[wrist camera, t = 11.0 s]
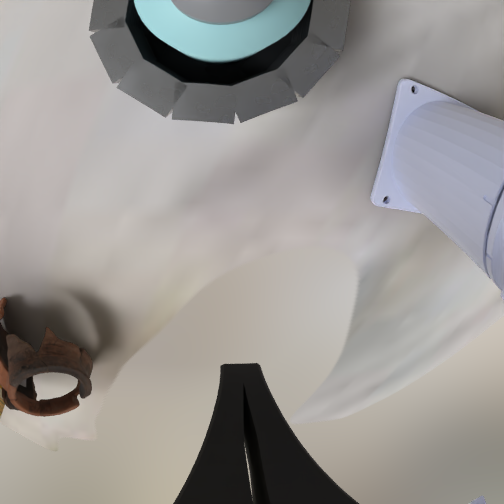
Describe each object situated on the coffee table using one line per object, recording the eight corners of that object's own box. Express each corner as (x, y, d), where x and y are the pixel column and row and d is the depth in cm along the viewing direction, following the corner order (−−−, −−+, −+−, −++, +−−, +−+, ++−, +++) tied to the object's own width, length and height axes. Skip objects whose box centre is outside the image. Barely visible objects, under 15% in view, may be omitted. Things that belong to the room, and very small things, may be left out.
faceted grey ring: (329, -42, 10) (358, -66, 7) (302, 122, 15) (326, 137, 12) (137, -60, 9) (117, -89, 5) (112, 107, 14) (82, 119, 10)
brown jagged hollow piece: (4, 264, 18) (7, 347, 14) (95, 297, 26) (124, 369, 21) (-26, 356, 20) (-18, 431, 15) (50, 373, 27) (70, 439, 22)
